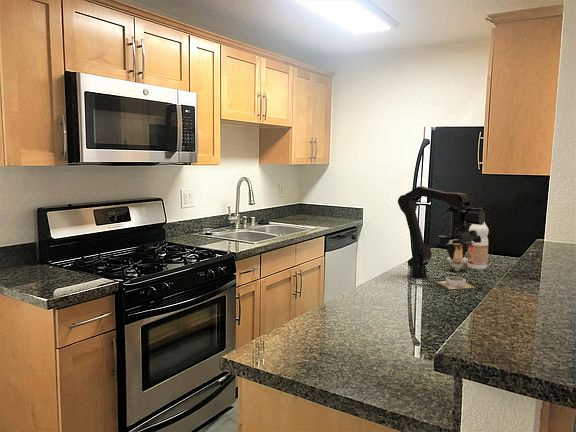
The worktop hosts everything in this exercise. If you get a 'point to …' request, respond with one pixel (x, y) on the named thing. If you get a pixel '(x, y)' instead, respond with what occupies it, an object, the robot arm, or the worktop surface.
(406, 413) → the worktop surface
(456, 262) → the copper brown cylinder
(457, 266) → the showerhead
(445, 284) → the board
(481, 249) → the fruit juice
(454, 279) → the collar
